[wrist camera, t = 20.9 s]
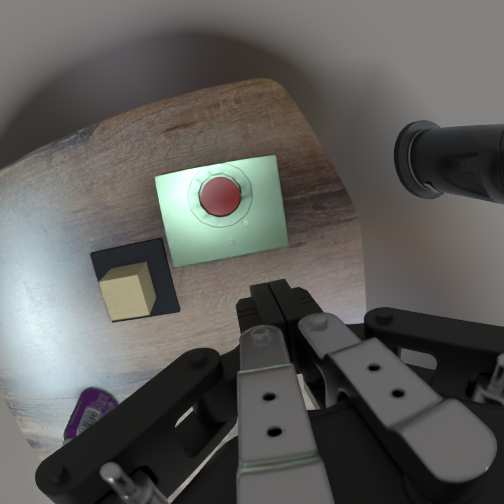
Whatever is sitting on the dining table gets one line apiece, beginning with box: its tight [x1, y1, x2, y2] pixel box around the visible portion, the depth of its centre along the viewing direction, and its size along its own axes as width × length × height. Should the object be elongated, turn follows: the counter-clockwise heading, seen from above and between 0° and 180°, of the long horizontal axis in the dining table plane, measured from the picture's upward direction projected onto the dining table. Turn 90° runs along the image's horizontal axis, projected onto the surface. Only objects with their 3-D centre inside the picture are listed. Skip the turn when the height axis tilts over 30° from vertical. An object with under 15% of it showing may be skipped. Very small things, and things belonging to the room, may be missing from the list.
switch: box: [201, 177, 240, 216], centre depth 31 cm, size 4×4×2 cm
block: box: [99, 262, 156, 321], centre depth 34 cm, size 5×5×5 cm
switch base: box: [154, 154, 289, 268], centre depth 34 cm, size 14×11×4 cm
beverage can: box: [63, 390, 117, 446], centre depth 36 cm, size 7×7×12 cm
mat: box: [90, 238, 180, 322], centre depth 37 cm, size 10×10×1 cm
